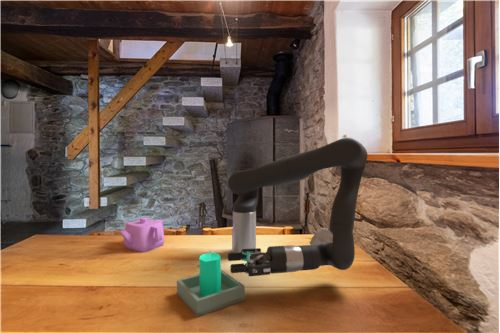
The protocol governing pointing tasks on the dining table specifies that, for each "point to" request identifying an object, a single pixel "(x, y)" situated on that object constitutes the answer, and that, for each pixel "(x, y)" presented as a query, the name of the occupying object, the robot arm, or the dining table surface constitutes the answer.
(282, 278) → the dining table surface
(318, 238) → the pumice stone
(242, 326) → the dining table surface
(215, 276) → the candle
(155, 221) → the teakettle
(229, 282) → the tray
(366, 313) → the dining table surface
